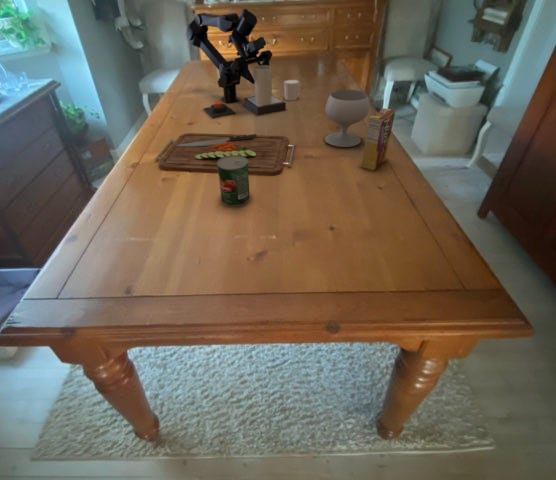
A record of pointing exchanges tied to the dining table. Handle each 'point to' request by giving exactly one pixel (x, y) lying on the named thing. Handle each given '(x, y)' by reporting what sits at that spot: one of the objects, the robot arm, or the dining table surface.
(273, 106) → the scale
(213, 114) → the tare pad
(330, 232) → the dining table surface
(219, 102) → the scale button
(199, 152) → the chopping board
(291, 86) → the shot glass
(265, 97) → the beaker
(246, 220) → the dining table surface
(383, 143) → the candy box
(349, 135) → the chalice
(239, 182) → the canned tomato
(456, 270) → the dining table surface
